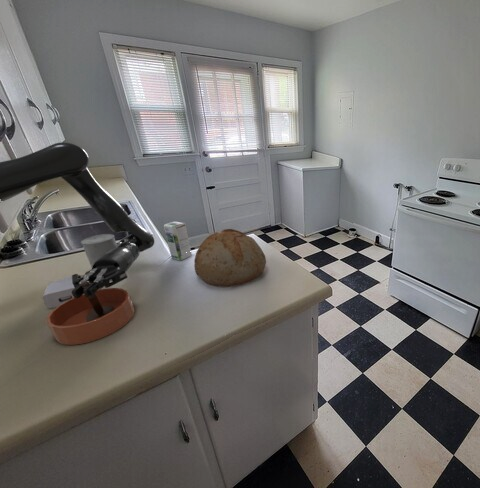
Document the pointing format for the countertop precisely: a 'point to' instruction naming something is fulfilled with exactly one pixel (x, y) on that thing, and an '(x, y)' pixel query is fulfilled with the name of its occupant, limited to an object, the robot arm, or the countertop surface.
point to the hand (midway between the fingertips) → (80, 294)
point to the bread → (229, 259)
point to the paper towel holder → (96, 306)
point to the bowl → (80, 331)
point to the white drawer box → (58, 292)
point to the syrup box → (177, 240)
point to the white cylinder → (98, 246)
